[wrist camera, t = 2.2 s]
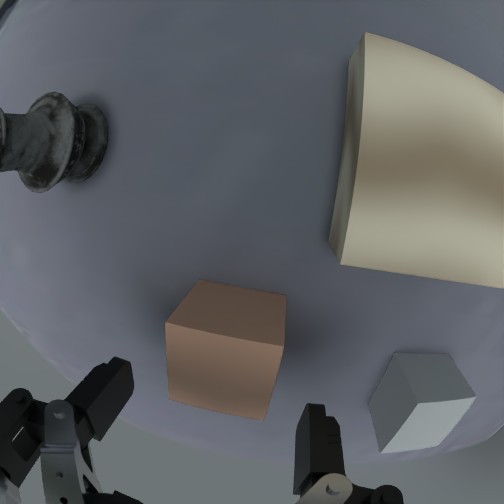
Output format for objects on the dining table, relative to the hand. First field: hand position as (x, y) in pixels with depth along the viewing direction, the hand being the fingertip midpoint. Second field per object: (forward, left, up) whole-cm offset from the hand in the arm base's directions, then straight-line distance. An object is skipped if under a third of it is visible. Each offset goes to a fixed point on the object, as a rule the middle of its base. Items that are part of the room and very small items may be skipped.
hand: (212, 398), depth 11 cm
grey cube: (+3, +13, -6) cm, 15 cm away
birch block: (-11, +9, -6) cm, 16 cm away
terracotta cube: (0, 0, -6) cm, 6 cm away
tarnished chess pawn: (-10, -12, -6) cm, 17 cm away
